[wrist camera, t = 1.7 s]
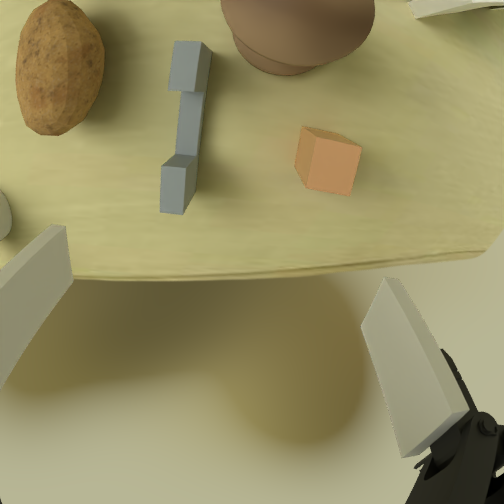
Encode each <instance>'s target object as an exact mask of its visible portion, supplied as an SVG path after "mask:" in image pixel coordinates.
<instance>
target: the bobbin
mask: <svg viewBox="0 0 504 504" xmlns="http://www.w3.org/2000/svg"><path fill="white" fill-rule="evenodd" d="M221 7H222V11H223V14H224V16H225V19H226V21H227V24H228V25H229V27H230V29H231V31H232V32H233V38H234V41H235V44H236V46H237V48H238V50H239V52H240V53H241V54H242V56H243V57H244V58H245V59H246V60H247V61H248V62H249V63H250V64H252V65H253V66H255V67H256V68H258V69H260V70H262V71H265V72H267V73H271V74H275V75H296V74H300V73H303V72H306V71H309V70H311V69H313V68H315V67H316V66H317V65H322V64H326V63H329V62H332V61H335V60H338V59H340V58H343V57H345V56H347V55H348V54H350V53H351V52H353V51H354V50H356V49H357V48H358V47H359V46H360V45H361V44H362V43H363V42H364V40H365V39H366V38H367V36H368V34H369V33H370V31H371V28H372V26H373V22H374V17H375V5H374V0H221Z"/></svg>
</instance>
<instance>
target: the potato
mask: <svg viewBox="0 0 504 504" xmlns="http://www.w3.org/2000/svg"><path fill="white" fill-rule="evenodd" d="M104 59H105V48H104V46H103V43H102V40H101V37H100V34H99V32H98V31H97V30H96V28H95V27H94V26H93V24H92V23H91V22H90V20H89V19H88V18H87V16H86V15H85V14H84V12H83V11H82V10H81V9H80V8H79V7H78V6H76V5H75V4H74V3H73V2H71V1H68V0H48V1H47V2H45V3H43V4H42V5H40V6H39V7H37V8H36V9H34V10H33V11H32V13H31V14H30V16H29V18H28V20H27V22H26V24H25V25H24V27H23V29H22V31H21V35H20V40H19V46H18V53H17V61H16V89H17V98H18V101H19V104H20V108H21V112H22V115H23V118H24V121H25V124H26V126H28V127H29V128H31V129H32V130H33V131H35V132H36V133H38V134H40V135H51V136H59V135H61V134H63V133H66V132H67V131H69V130H70V129H72V128H73V127H74V126H76V125H77V124H79V123H80V122H82V121H83V120H84V119H85V117H86V115H87V113H88V111H89V110H90V108H91V106H92V104H93V102H94V101H95V99H96V98H97V95H98V92H99V89H100V86H101V83H102V79H103V71H104Z"/></svg>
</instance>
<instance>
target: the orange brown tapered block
mask: <svg viewBox="0 0 504 504" xmlns="http://www.w3.org/2000/svg"><path fill="white" fill-rule="evenodd" d="M361 151H362V147H360V146H359V145H357V144H355V143H354V142H352V141H350V140H348V139H346V138H345V137H343V136H341V135H339V134H336V133H332V132H327V131H323V130H318V129H313V128H308V127H303V126H302V129H301V135H300V140H299V145H298V150H297V155H296V160H295V168H296V170H297V172H298V174H299V176H300V178H301V180H302V182H303V184H304V186H305V188H308V189H313V190H319V191H324V192H330V193H335V194H340V195H345V196H350V194H351V190H352V187H353V183H354V179H355V175H356V171H357V167H358V163H359V159H360V155H361Z"/></svg>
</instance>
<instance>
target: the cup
mask: <svg viewBox="0 0 504 504" xmlns="http://www.w3.org/2000/svg"><path fill="white" fill-rule="evenodd" d="M11 227H12V214H11V209H10V206H9V203H8V201H7V199H6V197H5V195H4V194H3V193H2V191H1V190H0V241H1V240H2V239H3V238H4V237H5V236H7V235H8V234H9V232H10V230H11Z"/></svg>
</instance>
